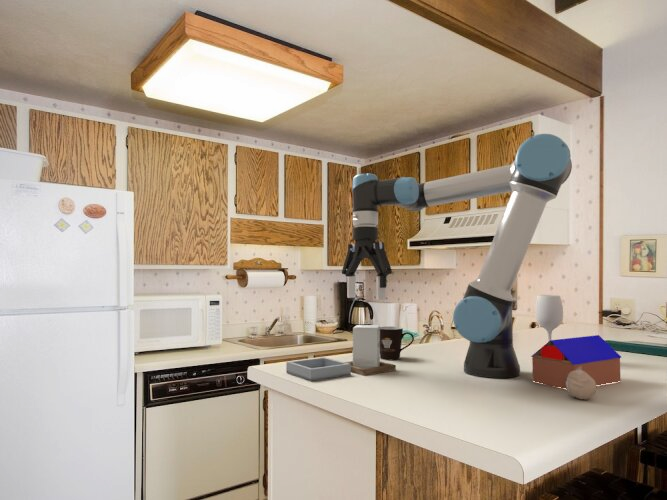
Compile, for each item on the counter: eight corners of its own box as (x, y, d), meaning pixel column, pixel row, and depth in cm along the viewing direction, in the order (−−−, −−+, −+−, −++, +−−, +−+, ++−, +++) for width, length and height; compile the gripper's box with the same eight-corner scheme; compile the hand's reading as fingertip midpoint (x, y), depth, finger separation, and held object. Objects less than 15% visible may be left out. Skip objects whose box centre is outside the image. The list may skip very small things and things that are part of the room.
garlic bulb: (559, 397, 107) (558, 361, 107) (576, 393, 110) (575, 359, 110) (587, 404, 101) (586, 366, 102) (604, 400, 104) (603, 363, 105)
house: (622, 383, 121) (621, 337, 122) (574, 393, 112) (572, 343, 112) (578, 374, 132) (577, 332, 132) (530, 382, 122) (529, 337, 123)
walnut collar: (395, 370, 137) (395, 365, 137) (363, 375, 130) (363, 369, 130) (369, 363, 146) (369, 358, 146) (338, 368, 140) (338, 363, 140)
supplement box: (377, 372, 134) (377, 327, 134) (352, 371, 135) (352, 327, 136) (380, 367, 141) (380, 324, 142) (356, 366, 142) (356, 324, 143)
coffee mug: (371, 358, 156) (371, 327, 157) (388, 355, 162) (388, 325, 162) (398, 363, 148) (398, 330, 148) (415, 359, 153) (415, 328, 154)
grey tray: (350, 374, 130) (350, 364, 130) (310, 381, 123) (310, 369, 123) (324, 367, 141) (324, 357, 141) (286, 372, 133) (286, 361, 134)
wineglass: (570, 363, 146) (568, 295, 147) (542, 363, 146) (540, 295, 147) (557, 358, 155) (556, 294, 156) (531, 358, 155) (529, 294, 156)
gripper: (330, 229, 148) (330, 297, 147) (383, 222, 127) (384, 300, 126) (349, 230, 152) (349, 296, 151) (404, 223, 132) (404, 299, 131)
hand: (365, 298), depth 139 cm, fingers open, 13 cm apart
